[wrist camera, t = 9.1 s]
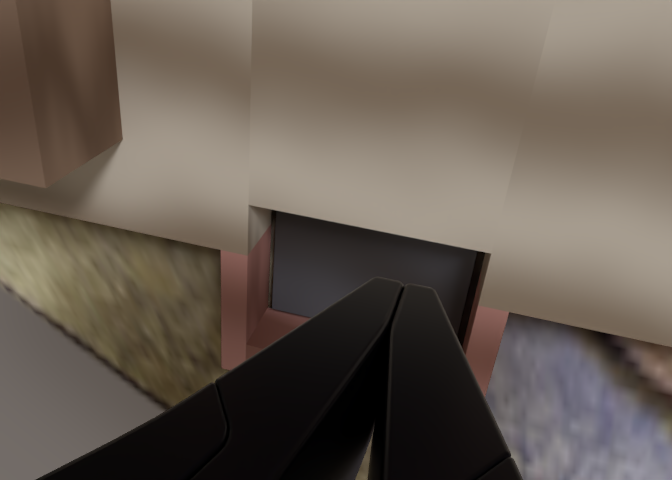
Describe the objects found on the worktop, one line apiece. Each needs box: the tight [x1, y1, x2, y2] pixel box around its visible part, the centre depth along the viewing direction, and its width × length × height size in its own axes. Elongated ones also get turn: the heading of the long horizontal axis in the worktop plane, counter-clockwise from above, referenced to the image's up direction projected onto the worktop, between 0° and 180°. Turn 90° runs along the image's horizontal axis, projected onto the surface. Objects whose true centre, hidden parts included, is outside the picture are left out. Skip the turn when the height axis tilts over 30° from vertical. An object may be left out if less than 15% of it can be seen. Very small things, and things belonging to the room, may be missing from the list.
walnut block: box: [0, 0, 123, 188], centre depth 18 cm, size 5×5×4 cm
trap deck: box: [0, 0, 672, 397], centre depth 17 cm, size 23×34×6 cm
